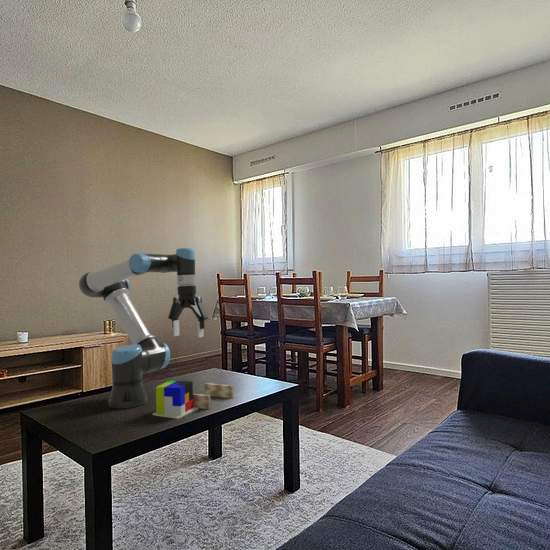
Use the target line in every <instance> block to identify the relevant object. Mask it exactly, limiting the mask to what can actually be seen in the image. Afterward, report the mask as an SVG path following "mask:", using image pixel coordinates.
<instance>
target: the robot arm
mask: <svg viewBox="0 0 550 550" xmlns="http://www.w3.org/2000/svg"><path fill="white" fill-rule="evenodd" d="M175 251H176V252H175V254H162V253H161V254H157V253H145V252H140V253H133V254H132V255H131V256H130V257H129V259H126V260H124V261H121V262H118V263H116V264H114V265H110V266H107V267H105V268H102V269H100V270H95V269H94V270H91V271H88V272H86V273H84V274H83V275H82V276H81V277H80V278H79V282H78V287H79V289H80V290H79V291H81V293H82V294H83V295H85V296H87V297H89V298H103V301H104V302H105V303H106V305H110V306H111V307H112V310H113V312H114V314H115V315H116V317H117V318H118V320H119V321H120V324H121V325H122V327H123V329H124V331H125V332H126V334H127V336H128V338H129V341H131V343H132V344H127V345H126V344H125V345H122V346H119V347H117V348H115V349H113V351H112V353H111V360H110V361H111V375H112V376H111V377H112V383H111V384H112V388H111V392H110V394H109V398H108V403H107V404H108V407H109V408H110V409H116V410H117V409H119V410H121V409H122V410H123V409H129V408H136V407H139V406H143V405H145V404H146V403H147V402H148V395H147V393H146V389H145V387H144V385H143V384H144V383H143V375H145V374H148V373H153V372H157V371H160V370H161V369H164V368H166V367H167V366H168V364H169V362H170V360H171V358H170V357H171V351H170V348H169V346H168V344H167V343H164V342H160V341H159V339H158V338H157V337H156V336H155V335H151V333H150V331H149V329H148V327H147V325H146V324H145V323H144V321H143V318H142V317H141V316H140V314H139V312H138V310H137V309H136V307H135V305H134V304H133V301H132V300H131V299H130V296H129V295H130V289H131V286H130V280H129V279H132V278H134V277H137V276H140V275H144V274H146V273H159V274H166V273H176V276H177V277H176V279H177V283H176V284H177V285H178V286H177V295H178V296H174V297H173V298H172V304H171V308H170V311H169V313H168V317H167V318H168V319H169V320H171V323H172V324H171V326H172V330H173V337H178V336H180V320H179V317H180V315H182V312H183V310H184V309H186V308H187V309H190V310H191V311H192V313H193V314H194V315H195V317H196V319H198V320H197V322H196V323H197V326H196V327H197V338H203V337H204V335H205V332H204V329H205V321H207V320H209V315H208V313H207V310H206V308H205V306H204V303H203V301H202V300H203V299H202V296H196V294H197V286H196V284H197V281H196V280H197V279H196V278H197V277H196V256H195V255H196V253H195V250H194V249H193V248H191V247H186V248H185V247H184V248H183V247H180V248H177V249H176V250H175Z"/></svg>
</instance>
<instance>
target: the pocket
mask: <svg viewBox="0 0 550 550" xmlns="http://www.w3.org/2000/svg"><path fill="white" fill-rule="evenodd" d="M203 385H204V394H200V393H193V407H196V408H198V409H205V410H211V409H212V407H211V404H212V403H211V400H212V399H211V397H215V398H216V397H218V398H225V397H226V398H225V399H233V398H234V385H231V384H230V385H229V384H219V383H211V382H210V383H209V382H205V383H204V384H203Z"/></svg>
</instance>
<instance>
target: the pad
mask: <svg viewBox="0 0 550 550" xmlns="http://www.w3.org/2000/svg"><path fill="white" fill-rule="evenodd" d="M198 410H199V408H196V407H193V408H192V409H190V410H189V411H187V412H186V413H184V414H183V415H181V416H180V415H162V414H157V411H155V412H153V413H152V416H156V417H163V418H168V419H169V418H170V419H175V420H179V419H180V418H183V417H186V416H187V415H190V414H191V413H193V412H195V411H198Z"/></svg>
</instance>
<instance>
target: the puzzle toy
mask: <svg viewBox="0 0 550 550" xmlns="http://www.w3.org/2000/svg"><path fill="white" fill-rule="evenodd" d="M193 385H194V382H193V381H190V380H189V381H188V380H168V381H165V382H164V383H162V384H159V385H157V386H156V387H155V402H156V403H155V404H156V408H155V409H156V411H155V412H157V414H162V415H180V416H181V415H183V414H184V413H186V412H187V411H189V410H190V409H192V408H193V394H194V390H193V389H194V386H193Z"/></svg>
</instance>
